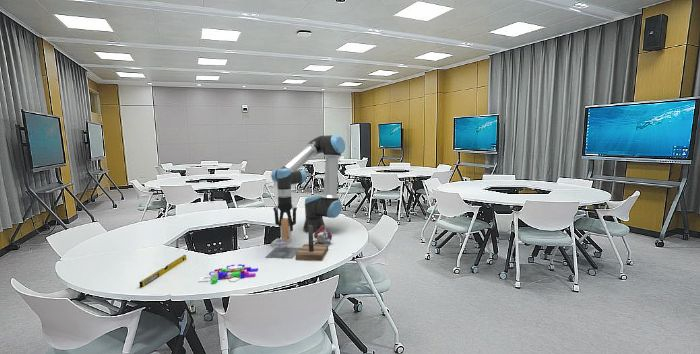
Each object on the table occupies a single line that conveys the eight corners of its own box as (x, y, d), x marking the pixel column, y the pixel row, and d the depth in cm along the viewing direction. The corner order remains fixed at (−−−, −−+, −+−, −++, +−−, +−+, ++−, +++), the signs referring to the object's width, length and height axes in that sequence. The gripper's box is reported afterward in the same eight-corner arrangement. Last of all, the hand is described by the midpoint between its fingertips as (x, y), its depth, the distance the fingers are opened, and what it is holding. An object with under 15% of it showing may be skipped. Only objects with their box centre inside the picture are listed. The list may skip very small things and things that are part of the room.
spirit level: (184, 260, 181) (183, 254, 181) (186, 260, 181) (185, 254, 181) (139, 288, 148) (139, 281, 148) (142, 288, 148) (142, 281, 148)
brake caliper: (335, 236, 208) (331, 224, 200) (331, 252, 200) (327, 240, 192) (317, 235, 211) (313, 224, 203) (313, 251, 203) (308, 239, 195)
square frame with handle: (279, 238, 195) (278, 218, 194) (294, 238, 194) (294, 218, 193) (270, 246, 182) (269, 224, 180) (286, 246, 180) (286, 224, 179)
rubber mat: (275, 247, 197) (275, 247, 197) (300, 248, 195) (300, 247, 195) (265, 257, 182) (265, 256, 181) (292, 258, 179) (292, 257, 179)
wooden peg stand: (304, 249, 194) (303, 220, 192) (328, 249, 192) (327, 220, 190) (295, 260, 177) (294, 228, 175) (321, 260, 175) (320, 228, 173)
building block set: (260, 265, 173) (259, 256, 172) (253, 282, 153) (253, 272, 152) (208, 268, 170) (208, 260, 169) (195, 286, 149) (195, 276, 149)
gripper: (267, 197, 188) (269, 238, 191) (297, 197, 186) (298, 238, 188) (272, 195, 195) (274, 234, 198) (301, 195, 193) (302, 235, 196)
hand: (286, 236), depth 193 cm, fingers closed on square frame with handle, 4 cm apart
